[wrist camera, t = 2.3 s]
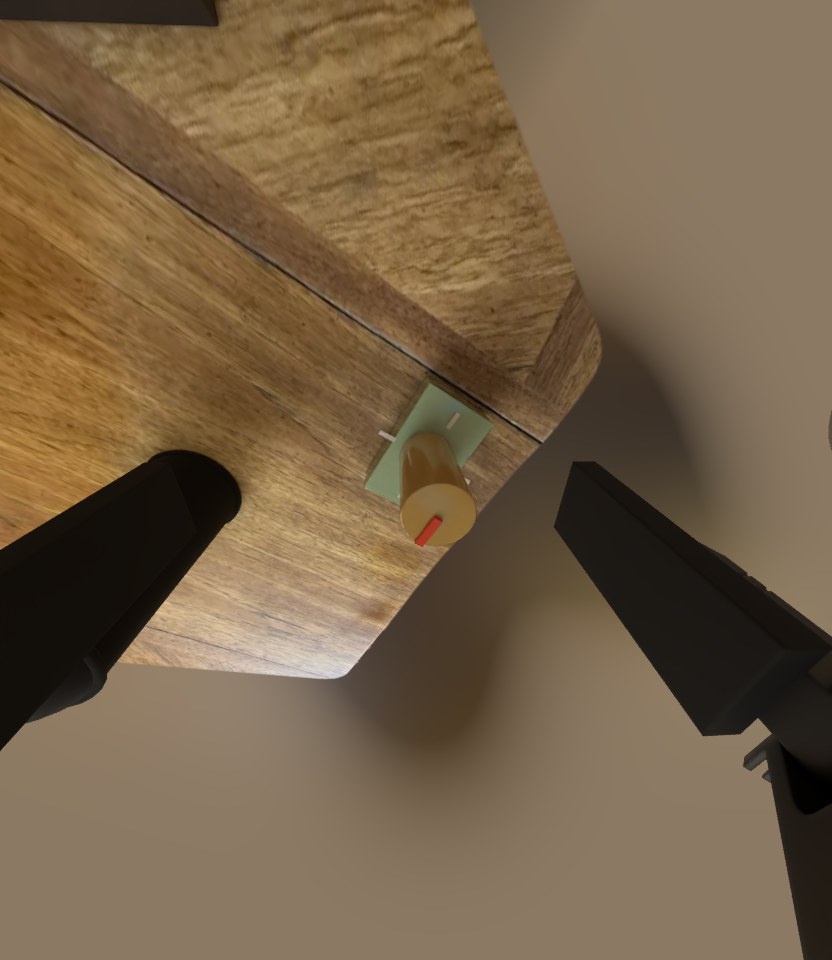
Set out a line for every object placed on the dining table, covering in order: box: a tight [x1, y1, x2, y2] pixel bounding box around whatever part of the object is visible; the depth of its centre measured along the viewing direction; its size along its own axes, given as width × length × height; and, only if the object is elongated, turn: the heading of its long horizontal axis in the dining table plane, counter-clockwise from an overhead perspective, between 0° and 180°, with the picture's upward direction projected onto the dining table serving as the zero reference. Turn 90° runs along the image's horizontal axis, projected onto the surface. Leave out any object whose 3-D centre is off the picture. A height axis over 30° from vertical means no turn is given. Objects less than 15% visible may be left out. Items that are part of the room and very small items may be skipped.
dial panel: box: [364, 375, 494, 505], centre depth 26 cm, size 10×9×3 cm
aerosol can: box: [26, 450, 241, 723], centre depth 20 cm, size 8×8×20 cm
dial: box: [399, 432, 477, 547], centre depth 21 cm, size 4×4×8 cm
